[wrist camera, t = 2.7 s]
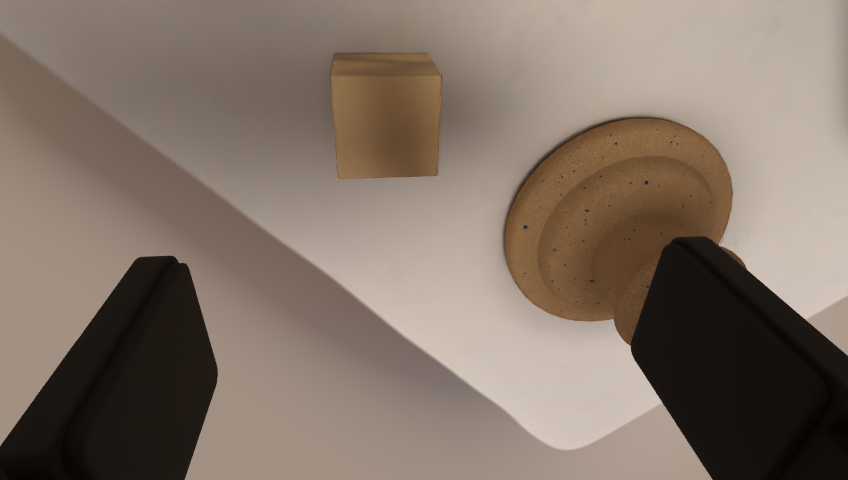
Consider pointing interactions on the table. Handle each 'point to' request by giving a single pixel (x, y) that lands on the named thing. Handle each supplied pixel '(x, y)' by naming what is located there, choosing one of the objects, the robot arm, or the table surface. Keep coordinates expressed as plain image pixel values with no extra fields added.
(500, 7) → the table surface
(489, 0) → the table surface
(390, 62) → the maple block
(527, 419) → the table surface
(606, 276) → the candle holder
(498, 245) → the table surface
